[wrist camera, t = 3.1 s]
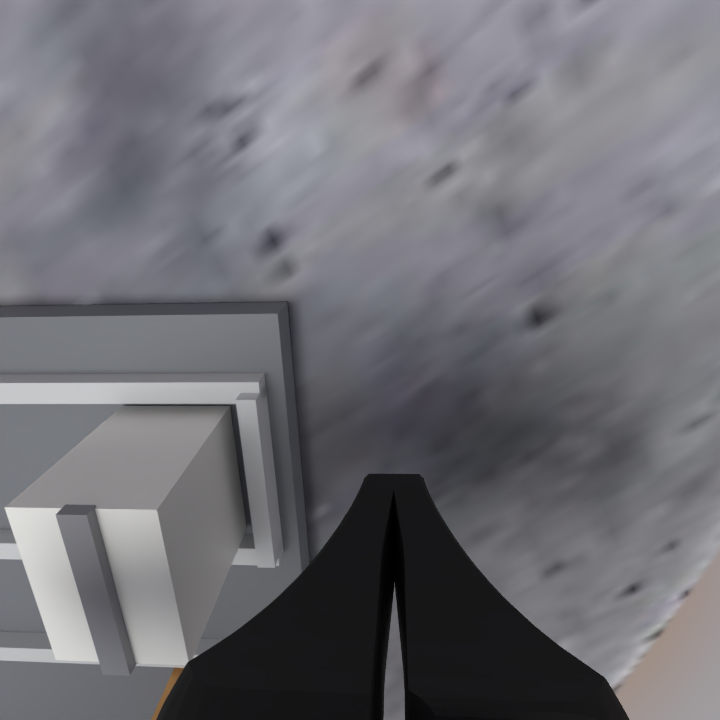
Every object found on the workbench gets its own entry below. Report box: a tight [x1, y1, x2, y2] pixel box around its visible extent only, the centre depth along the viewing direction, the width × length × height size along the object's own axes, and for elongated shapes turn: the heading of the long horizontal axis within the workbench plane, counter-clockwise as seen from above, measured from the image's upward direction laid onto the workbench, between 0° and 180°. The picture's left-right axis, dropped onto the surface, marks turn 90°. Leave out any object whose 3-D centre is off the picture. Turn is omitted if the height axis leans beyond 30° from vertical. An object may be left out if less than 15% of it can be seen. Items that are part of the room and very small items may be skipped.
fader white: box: [4, 406, 247, 676], centre depth 12 cm, size 4×3×5 cm
